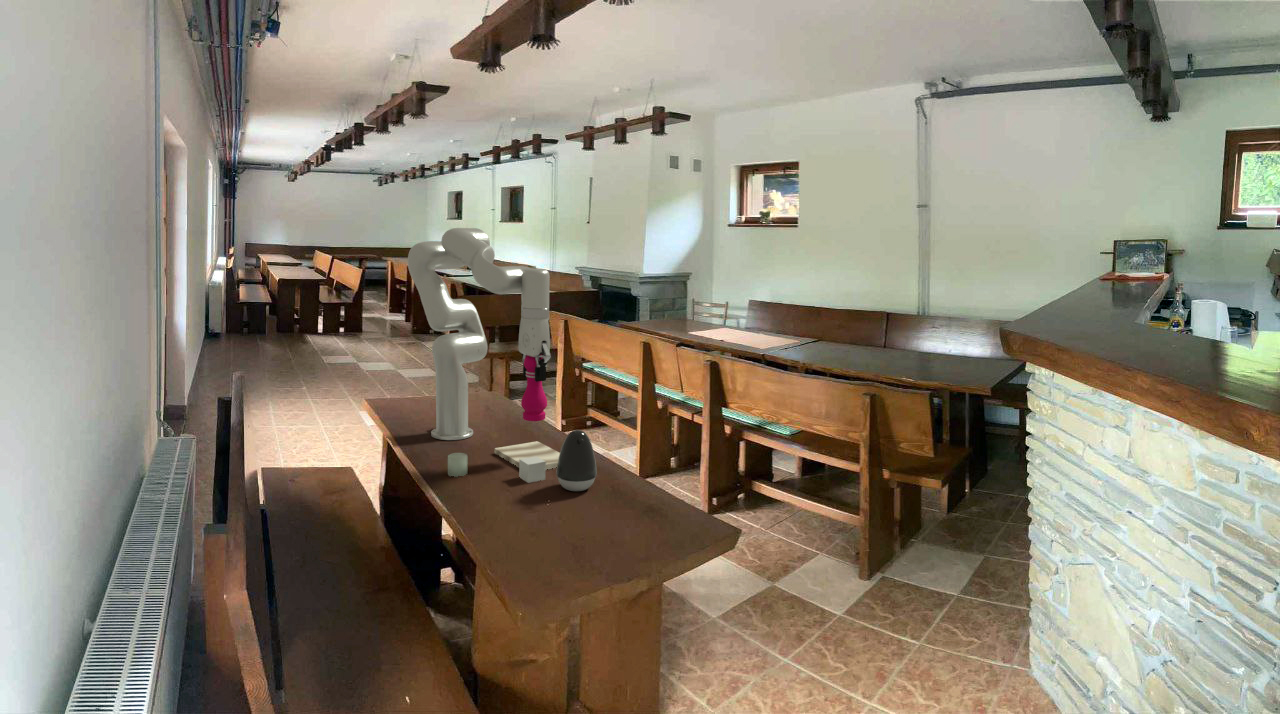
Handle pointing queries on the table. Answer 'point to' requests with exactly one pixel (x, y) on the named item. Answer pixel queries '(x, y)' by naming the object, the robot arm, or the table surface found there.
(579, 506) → the table surface
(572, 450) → the dark grey egg shape
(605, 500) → the table surface
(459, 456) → the sage cylinder
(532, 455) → the ash board
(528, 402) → the pepper mill
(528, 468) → the grey block
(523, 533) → the table surface
